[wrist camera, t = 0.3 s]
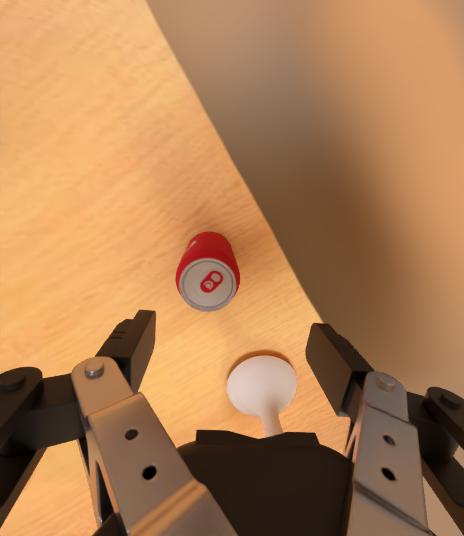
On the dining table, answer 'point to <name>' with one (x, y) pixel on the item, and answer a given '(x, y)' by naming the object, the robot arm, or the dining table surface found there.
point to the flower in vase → (263, 389)
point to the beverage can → (208, 272)
